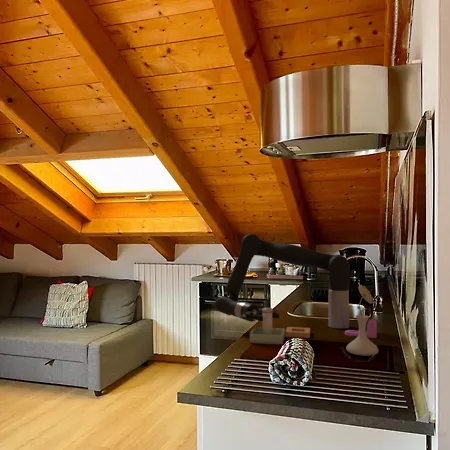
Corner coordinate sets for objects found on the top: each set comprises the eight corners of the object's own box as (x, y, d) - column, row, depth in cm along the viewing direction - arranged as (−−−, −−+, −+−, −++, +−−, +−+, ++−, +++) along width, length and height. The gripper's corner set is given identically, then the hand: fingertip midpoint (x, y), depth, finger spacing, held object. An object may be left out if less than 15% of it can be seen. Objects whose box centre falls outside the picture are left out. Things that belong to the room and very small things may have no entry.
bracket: (376, 335, 196) (376, 319, 196) (376, 338, 190) (376, 321, 190) (345, 332, 200) (345, 317, 200) (344, 335, 195) (344, 319, 195)
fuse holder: (310, 332, 200) (310, 328, 200) (309, 337, 190) (309, 333, 190) (287, 331, 202) (287, 327, 202) (285, 336, 192) (285, 331, 192)
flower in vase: (380, 359, 159) (380, 288, 159) (347, 357, 161) (347, 287, 162) (375, 349, 172) (376, 283, 172) (344, 347, 174) (345, 282, 174)
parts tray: (284, 336, 191) (284, 328, 191) (282, 344, 179) (282, 335, 179) (253, 335, 194) (253, 327, 194) (249, 342, 181) (249, 334, 181)
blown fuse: (273, 336, 188) (272, 307, 188) (272, 339, 184) (272, 309, 184) (262, 336, 189) (262, 307, 189) (261, 338, 185) (261, 309, 185)
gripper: (233, 304, 194) (256, 309, 181) (259, 301, 202) (283, 306, 189) (233, 321, 194) (256, 328, 181) (259, 318, 202) (283, 324, 189)
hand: (270, 317), depth 185 cm, fingers open, 8 cm apart
